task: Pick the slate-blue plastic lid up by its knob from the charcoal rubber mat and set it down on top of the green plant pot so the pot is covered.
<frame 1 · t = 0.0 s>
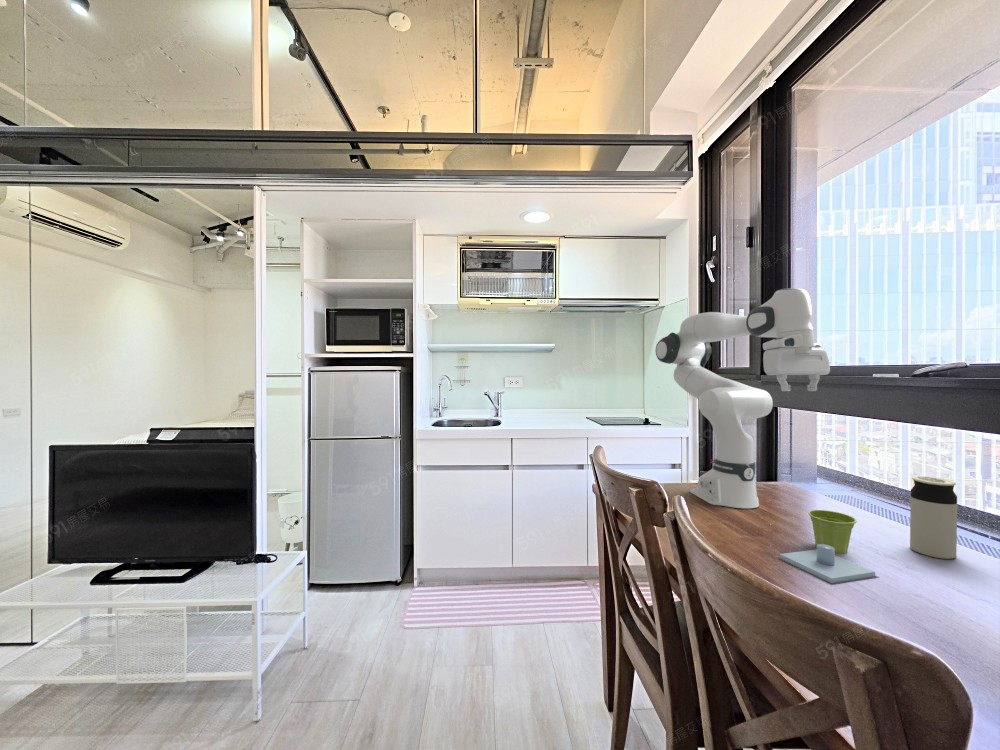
hand: (799, 391, 121), 39 cm above the table, tool pointing down, fingers open, 8 cm apart
mat: (825, 569, 95), on the table
plant pot: (831, 551, 105), on the table
travel mug: (932, 553, 104), on the table
lid: (825, 566, 95), point 1 cm above the table, touching mat
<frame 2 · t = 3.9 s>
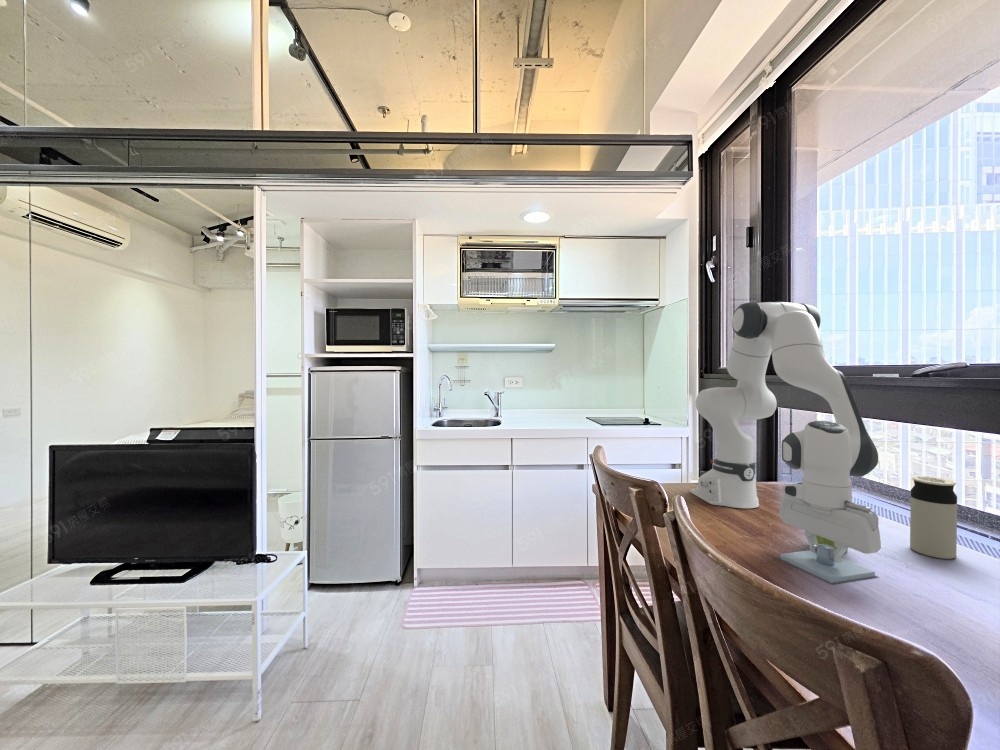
hand: (825, 556, 95), 3 cm above the table, tool pointing down, fingers closed on lid, 3 cm apart
lid: (825, 566, 95), point 1 cm above the table, touching gripper, mat
everything else where it was.
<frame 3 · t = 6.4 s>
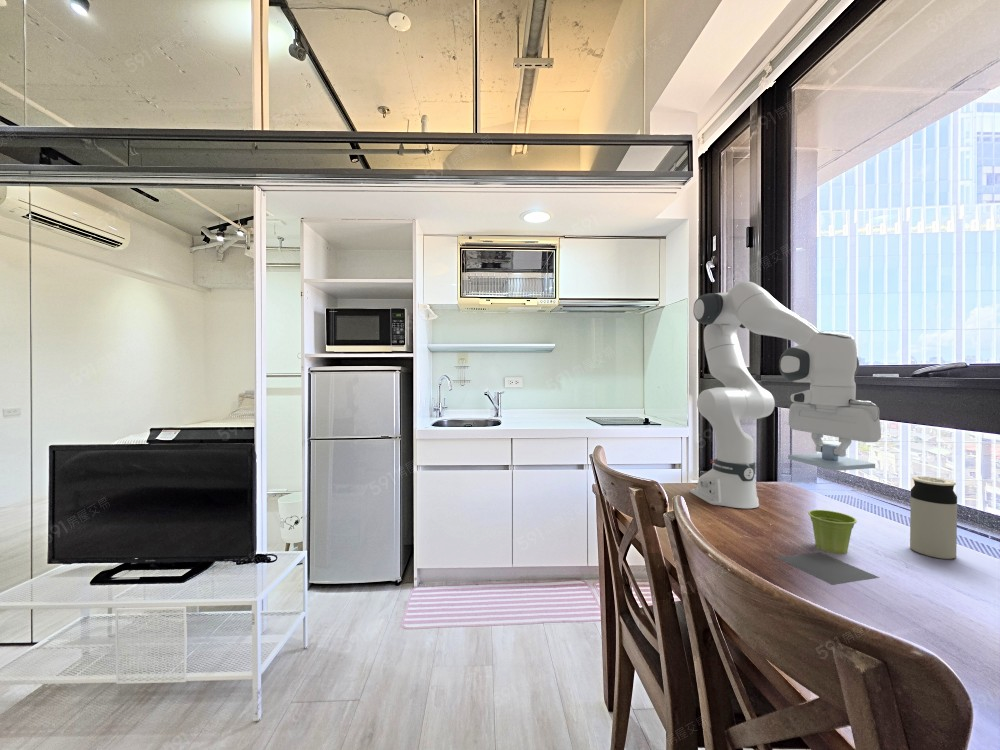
hand: (830, 454, 104), 24 cm above the table, tool pointing down, fingers closed on lid, 3 cm apart
lid: (829, 463, 104), point 22 cm above the table, touching gripper
everything else where it was.
when the fingers open (13 cm above the table, at t = 8.8 s): lid drops 2 cm, resting on plant pot.
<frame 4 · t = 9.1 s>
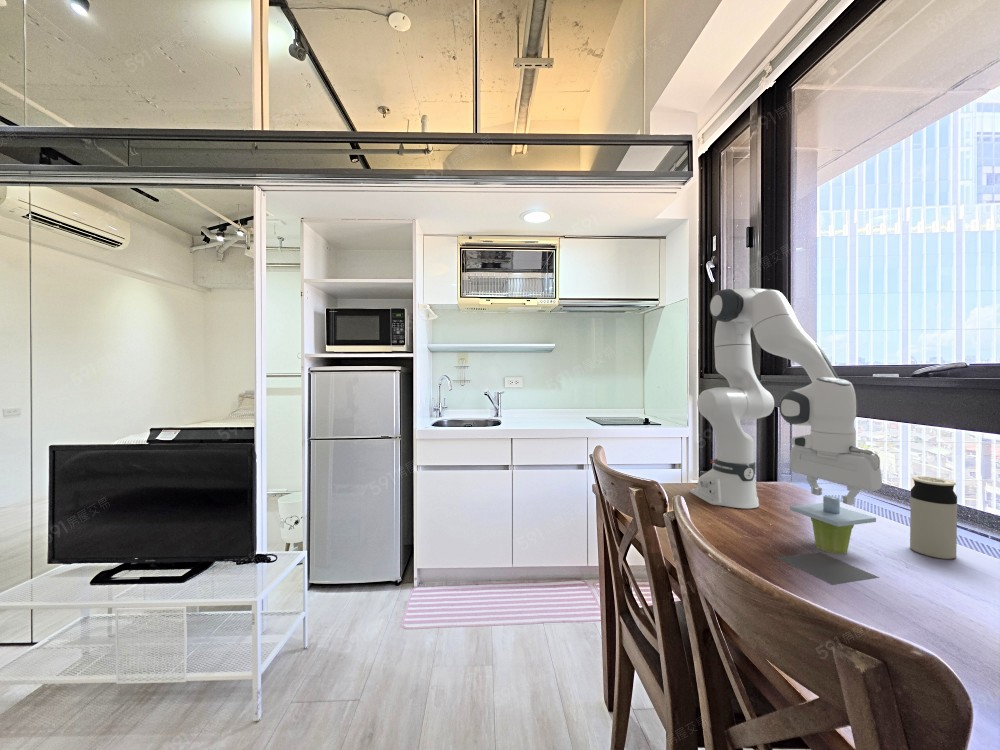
hand: (831, 499, 105), 13 cm above the table, tool pointing down, fingers open, 6 cm apart
plant pot: (831, 551, 105), on the table, touching lid
lid: (831, 515, 105), point 9 cm above the table, touching plant pot
everything else where it was.
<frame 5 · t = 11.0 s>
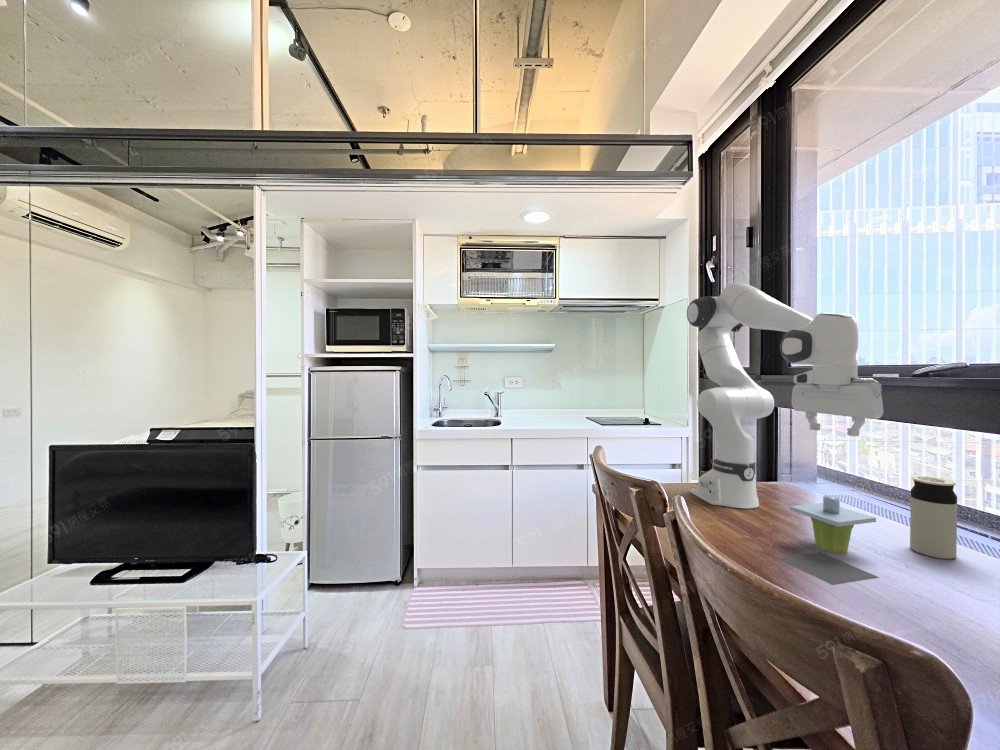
hand: (833, 432, 106), 29 cm above the table, tool pointing down, fingers open, 8 cm apart
nothing on the table moved.
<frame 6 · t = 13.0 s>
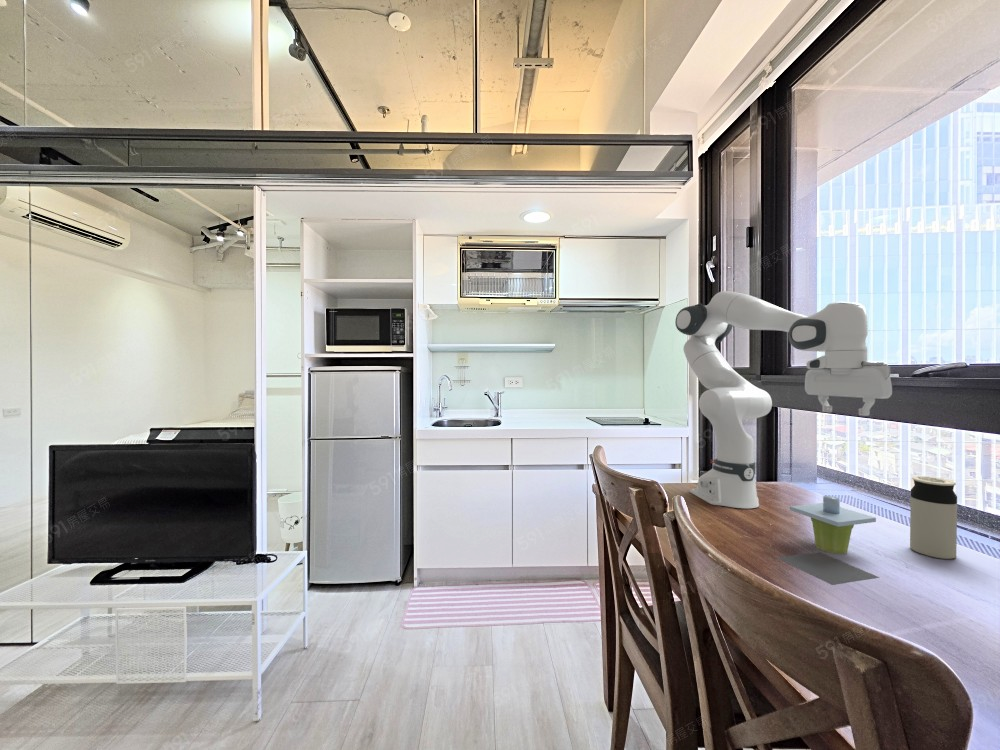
hand: (844, 413, 114), 33 cm above the table, tool pointing down, fingers open, 8 cm apart
nothing on the table moved.
at the end: lid inside the target area on the plant pot (0.2 cm from its centre), point 8.9 cm above the plant pot's base; lid tilted 0°; the gripper is holding nothing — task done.
